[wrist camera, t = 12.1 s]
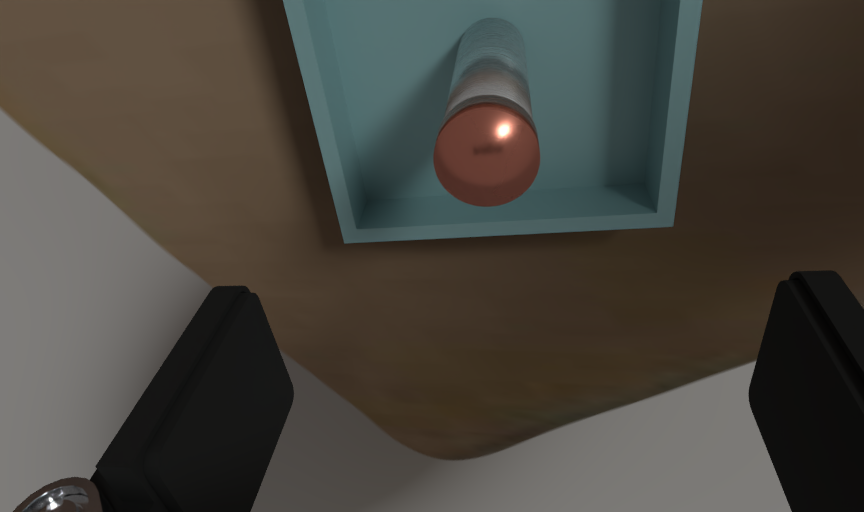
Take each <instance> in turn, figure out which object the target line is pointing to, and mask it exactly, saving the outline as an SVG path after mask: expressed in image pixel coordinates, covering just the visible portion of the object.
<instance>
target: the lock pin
mask: <svg viewBox="0 0 864 512" xmlns="http://www.w3.org/2000/svg"><path fill="white" fill-rule="evenodd" d="M433 163H434V169H435V172H436V175H437V178H438V179H439V181H440V183H441V184H442V186H443V187H444V188H445V189H446V190H447V192H449V193H450V194H451V195H452V196H453V197H455V198H457V199H458V200H460V201H462V202H464V203H467V204H470V205H474V206H481V207H492V206H499V205H503V204H506V203H509V202H511V201H513V200H515V199H516V198H518V197H519V196H521V195H522V194H523V193H524V192H526V191H527V189H528V188H529V187H530V186H531V185H532V183H533V182H534V180H535V178H536V176H537V173H538V170H539V166H540V149H539V141H538V133H537V129H536V126H535V124H534V121H533V117H532V108H531V99H530V90H529V81H528V72H527V63H526V54H525V45H524V41H523V38H522V36H521V34H520V32H519V31H518V29H517V28H516V27H515V26H514V25H513V24H511V23H510V22H508V21H506V20H504V19H500V18H484V19H481V20H479V21H477V22H475V23H474V24H472V25H471V26H470V27H469V28H468V29H467V30H466V31H465V33H464V34H463V36H462V38H461V40H460V43H459V48H458V52H457V57H456V62H455V67H454V72H453V77H452V82H451V87H450V91H449V96H448V101H447V106H446V111H445V116H444V119H443V121H442V122H441V124H440V127H439V130H438V134H437V139H436V143H435V148H434V154H433Z"/></svg>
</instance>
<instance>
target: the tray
mask: <svg viewBox="0 0 864 512" xmlns="http://www.w3.org/2000/svg"><path fill="white" fill-rule="evenodd" d="M702 2H703V0H283V3H284V7H285V11H286V15H287V19H288V23H289V27H290V31H291V35H292V38H293V42H294V46H295V50H296V54H297V58H298V62H299V66H300V70H301V74H302V78H303V82H304V86H305V90H306V94H307V98H308V102H309V106H310V110H311V114H312V118H313V122H314V125H315V129H316V133H317V137H318V141H319V145H320V149H321V153H322V157H323V161H324V165H325V169H326V173H327V177H328V181H329V185H330V189H331V193H332V197H333V201H334V205H335V209H336V212H337V216H338V220H339V224H340V228H341V232H342V236H343V240H344V243H363V242H383V241H402V240H422V239H442V238H461V237H481V236H501V235H520V234H540V233H560V232H579V231H599V230H619V229H638V228H658V227H673V225H674V217H675V209H676V202H677V194H678V186H679V178H680V171H681V163H682V155H683V148H684V140H685V132H686V125H687V117H688V109H689V102H690V94H691V86H692V79H693V71H694V63H695V55H696V48H697V40H698V32H699V25H700V17H701V9H702ZM484 18H500V19H504V20H506V21H508V22H510V23H511V24H513V25H514V26H515V27H516V28H517V29H518V31H519V32H520V34H521V36H522V38H523V41H524V45H525V54H526V63H527V72H528V81H529V90H530V99H531V108H532V117H533V121H534V124H535V126H536V129H537V133H538V141H539V149H540V166H539V170H538V173H537V176H536V178H535V180H534V182H533V183H532V185H531V186H530V187H529V188H528V189H527V191H526V192H524V193H523V194H522V195H521V196H519V197H518V198H516V199H515V200H513V201H511V202H509V203H506V204H503V205H499V206H492V207H481V206H474V205H470V204H467V203H464V202H462V201H460V200H458V199H457V198H455V197H453V196H452V195H451V194H450V193H449V192H447V190H446V189H445V188H444V187H443V186H442V184H441V183H440V181H439V179H438V178H437V175H436V172H435V169H434V163H433V154H434V148H435V143H436V139H437V134H438V130H439V127H440V124H441V122H442V121H443V119H444V116H445V111H446V106H447V101H448V96H449V91H450V87H451V82H452V77H453V72H454V67H455V62H456V57H457V52H458V48H459V43H460V40H461V38H462V36H463V34H464V33H465V31H466V30H467V29H468V28H469V27H470V26H471V25H472V24H474V23H475V22H477V21H479V20H481V19H484Z"/></svg>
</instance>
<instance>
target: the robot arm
mask: <svg viewBox="0 0 864 512" xmlns="http://www.w3.org/2000/svg"><path fill="white" fill-rule="evenodd" d="M293 397H294V391H293V385H292V382H291V380H290V377H289V374H288V372H287V369H286V367H285V364H284V362H283V359H282V356H281V354H280V351H279V349H278V346H277V343H276V341H275V338H274V336H273V333H272V331H271V328H270V325H269V323H268V320H267V318H266V315H265V313H264V310H263V307H262V305H261V302H260V300H259V297H258V296H257V295H256V294H255V293H251V292H250V291H249V289H248V288H247V287H246V286H217V287H214V288H213V289H212V290H211V291H210V293H209V294H208V296H207V297H206V299H205V300H204V302H203V303H202V305H201V306H200V308H199V309H198V311H197V313H196V314H195V316H194V317H193V319H192V320H191V322H190V323H189V325H188V326H187V328H186V330H185V331H184V332H183V334H182V335H181V337H180V338H179V340H178V341H177V343H176V345H175V346H174V348H173V349H172V351H171V352H170V354H169V355H168V357H167V358H166V360H165V361H164V363H163V364H162V366H161V367H160V369H159V371H158V372H157V373H156V375H155V377H154V378H153V380H152V381H151V383H150V384H149V386H148V387H147V389H146V390H145V392H144V393H143V395H142V396H141V398H140V400H139V401H138V402H137V404H136V405H135V407H134V409H133V410H132V412H131V413H130V415H129V416H128V418H127V419H126V421H125V422H124V424H123V425H122V427H121V429H120V430H119V431H118V433H117V435H116V436H115V438H114V439H113V441H112V442H111V444H110V445H109V447H108V448H107V450H106V451H105V453H104V454H103V456H102V458H101V459H100V460H99V462H98V464H97V465H96V468H97V470H96V471H95V473H94V474H93V476H92V477H91V479H90V480H88V479H86V478H79V477H71V478H65V479H60V480H58V481H55V482H53V483H50V484H48V485H46V486H44V487H42V488H41V489H39V490H38V491H36V492H34V493H33V494H31V495H30V496H29V497H28V498H26V500H24V501H23V502H22V503H21V504H20V505H19V506H17V508H16V509H15V510H14V511H13V512H250V511H251V509H252V506H253V503H254V501H255V498H256V496H257V493H258V491H259V488H260V486H261V483H262V480H263V478H264V475H265V472H266V470H267V467H268V465H269V462H270V460H271V457H272V455H273V452H274V449H275V447H276V444H277V442H278V439H279V436H280V434H281V431H282V429H283V426H284V424H285V421H286V419H287V416H288V413H289V411H290V408H291V405H292V402H293ZM749 402H750V407H751V410H752V413H753V415H754V417H755V420H756V422H757V425H758V427H759V430H760V432H761V435H762V438H763V440H764V443H765V445H766V447H767V450H768V453H769V455H770V458H771V460H772V463H773V465H774V468H775V470H776V473H777V475H778V478H779V480H780V483H781V485H782V488H783V491H784V493H785V496H786V498H787V501H788V503H789V506H790V508H791V511H792V512H864V309H863V308H862V306H861V305H860V304H859V302H858V301H857V299H856V298H855V297H854V295H853V294H852V292H851V291H850V290H849V288H848V287H847V285H846V284H845V282H844V281H843V280H842V278H841V277H840V276H839V275H838V274H837V273H836V272H834V271H796V272H793V273H792V274H791V276H790V278H789V280H783V281H780V283H779V284H778V286H777V289H776V293H775V297H774V300H773V304H772V307H771V311H770V315H769V318H768V322H767V325H766V329H765V333H764V336H763V340H762V343H761V347H760V351H759V354H758V358H757V361H756V365H755V369H754V372H753V376H752V379H751V383H750V387H749Z"/></svg>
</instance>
